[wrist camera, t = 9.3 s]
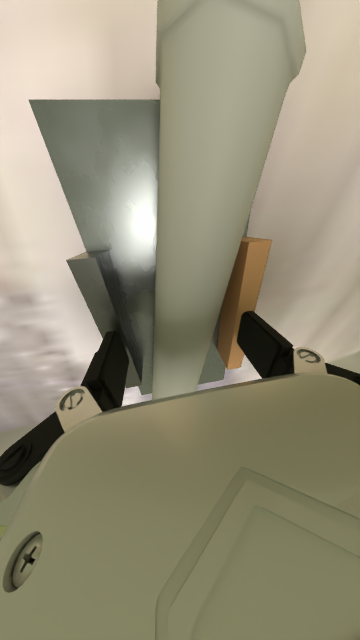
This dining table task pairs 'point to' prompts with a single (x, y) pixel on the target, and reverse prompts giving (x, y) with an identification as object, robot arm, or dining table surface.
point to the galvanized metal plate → (115, 217)
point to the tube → (211, 159)
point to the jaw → (241, 296)
